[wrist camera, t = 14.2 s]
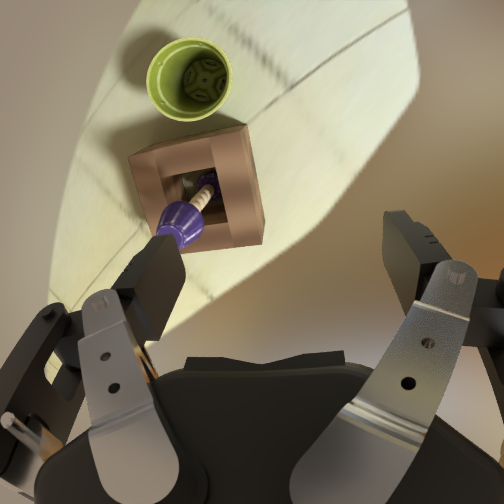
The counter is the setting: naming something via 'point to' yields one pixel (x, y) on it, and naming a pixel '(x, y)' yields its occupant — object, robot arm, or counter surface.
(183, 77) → the plant pot
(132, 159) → the socket block
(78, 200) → the counter surface
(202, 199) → the toy lamp
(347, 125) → the counter surface
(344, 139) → the counter surface
